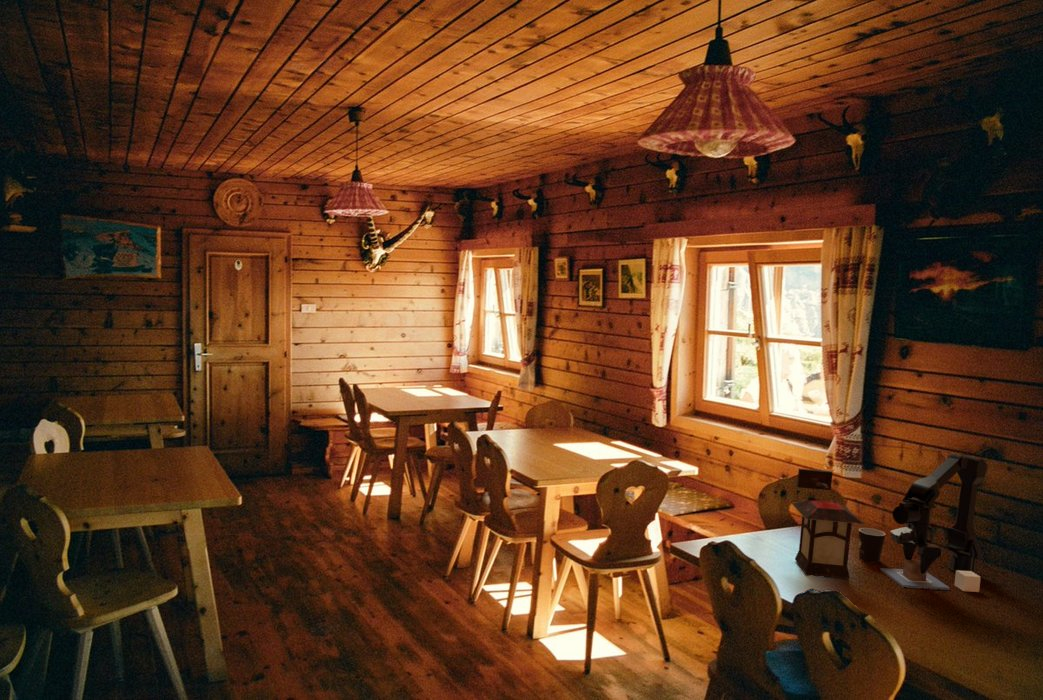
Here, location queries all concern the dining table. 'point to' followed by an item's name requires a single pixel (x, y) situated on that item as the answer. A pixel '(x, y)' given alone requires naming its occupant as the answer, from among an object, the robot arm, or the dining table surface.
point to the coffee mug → (870, 544)
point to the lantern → (823, 529)
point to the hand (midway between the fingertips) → (915, 568)
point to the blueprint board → (906, 582)
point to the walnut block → (913, 570)
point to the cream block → (967, 581)
